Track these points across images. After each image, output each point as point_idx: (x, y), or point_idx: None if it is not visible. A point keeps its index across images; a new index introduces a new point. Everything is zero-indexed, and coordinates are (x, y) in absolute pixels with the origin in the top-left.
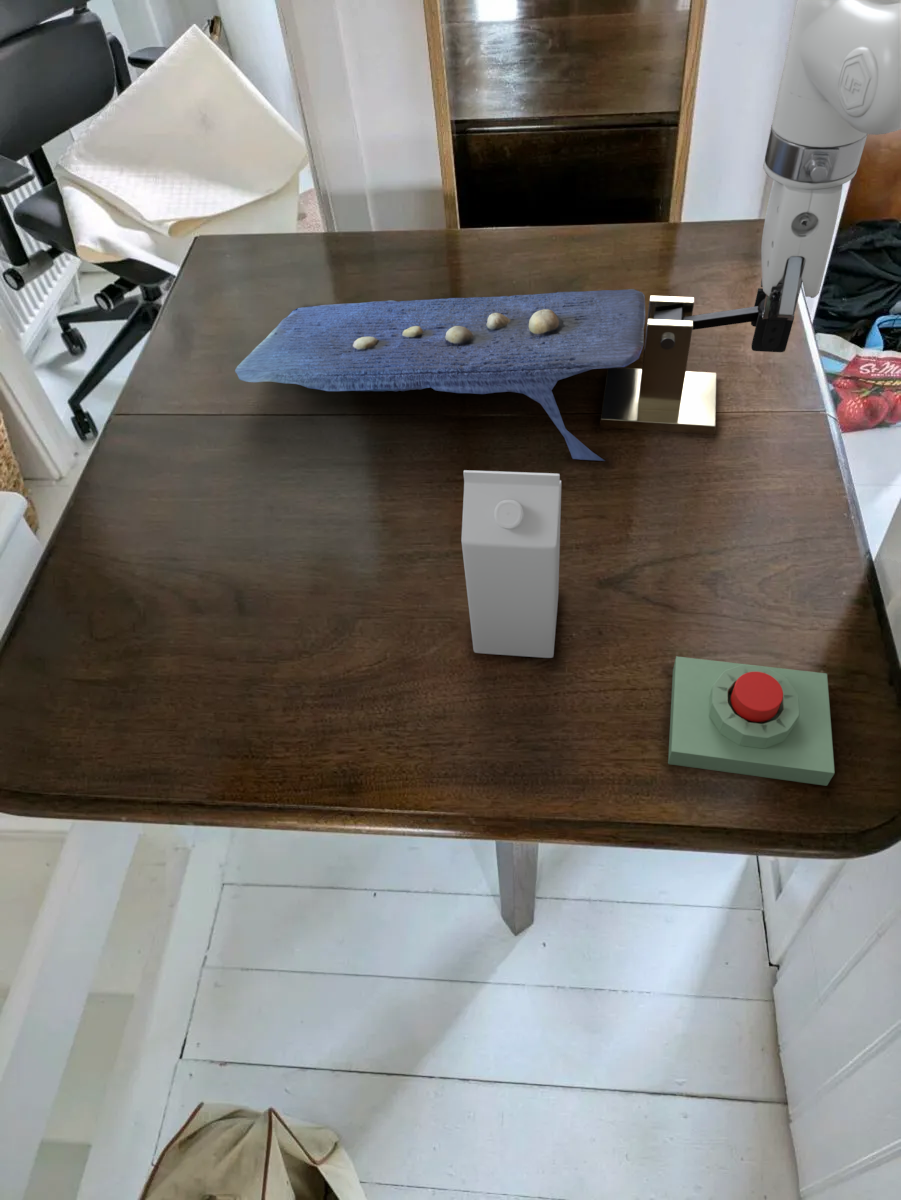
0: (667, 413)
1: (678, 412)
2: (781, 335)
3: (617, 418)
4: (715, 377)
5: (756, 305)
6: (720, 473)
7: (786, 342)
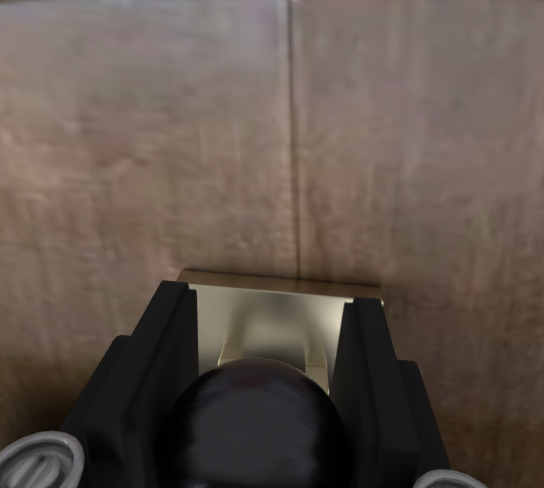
0: None
1: (330, 367)
2: (432, 412)
3: None
4: (194, 286)
5: None
6: (516, 282)
7: (384, 326)
